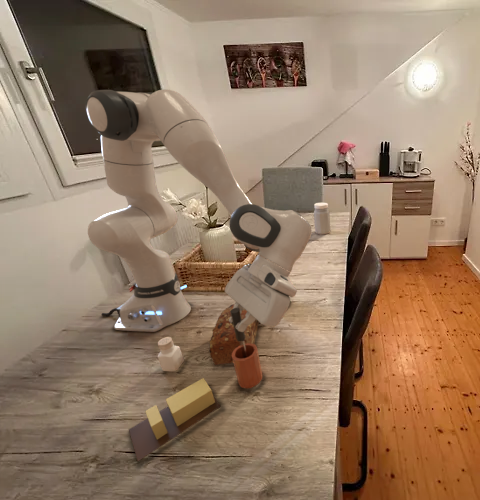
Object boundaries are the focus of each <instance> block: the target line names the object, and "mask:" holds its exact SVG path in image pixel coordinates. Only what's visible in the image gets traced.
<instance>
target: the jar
mask: <svg viewBox="0 0 480 500" xmlns="http://www.w3.org/2000/svg"><path fill="white" fill-rule="evenodd" d="M313 206H314V207H313V208H314V211H313V221H314V222H313V223H314V233H316V234H317V235H328V234H329V233H330V232H331V215H330V210H329V203H328V202H315V203H314V204H313Z"/></svg>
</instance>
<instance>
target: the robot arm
mask: <svg viewBox="0 0 480 500" xmlns="http://www.w3.org/2000/svg"><path fill="white" fill-rule="evenodd" d="M85 112H86V116H87V119H88V121H89V123H90V125H91V127H92V128H93V129H94V130H95V131H96V132H97V133H98V134H99V135H100V146H101V155H102V161H103V168H104V173H105V178H106V184H107V186H108V188H109V189H110V190H111V191H112V192H114V193H115V194H117V195H119V196H122V197H125V199H126V202H127V206H126V207H124V208H120V209H118V210H114V211H111V212H108V213H105V214H103V215H100V216H99V217H97V218H95V219H94V220H92V221H90V223H89V224H88V226H87V236H88V238H89V241H90V242H91V243H92V244H93V246H95V247H96V248H97V249H99V250H101V251H103V252H105V253H110V254H113V255H116V256H118V257H119V258H120V259H122V260H123V261H124V263H125V264H127V266H128V268H129V270H130V273H131V275H132V277H133V280H134V283H133V284H132V286H131V287H130V288H128V291H129V293H131V292H133V294H132V295H131V296H129V298H128V299H127V300H126V301H124V303H122V304H121V305H120V306H118V307H115V308H112V309H111V310H110V311H109V312H102V313H101V317H109V316H112V315H113V314H114V313H115V312H116V313H117V315H118V319H117V320H116V321H115V323H114V326H113V328H114V330H115V331H127V332H143V333H144V332H148V333H155V332H158V331H160V330H162V329H163V328H165V327H167V326H170V325H172V324H175V323H177V322H179V321H181V320H183V319H184V318H185V317H187V316H188V315H189V313H191V310H192V306H191V305H190V303H189V302H188V301H187V299H186V297H185V296H184V294H183V291H182V290H183V289H186V288H187V287H188V286H187V284H184V285H183V286H181V283H180V280H179V277H178V274H177V272H175V269H174V266H173V263H172V259H171V256H170V255H169V253H168V252H166V251H164V250H161V249H158V248H157V249H155V248H154V247H153V245H152V243H151V240H152V239H154V238H156V237H158V236H161V235H164V234H166V233H168V232H169V231H170V230H171V229H172V228H173V227H175V226H176V225H177V223H178V219H179V218H178V213H177V211H176V209H175V208H174V206H172V205H171V203H169V202H168V201H165V200H164V199H163V198H162V196H161V194H160V192H159V189H158V187H157V182H156V181H157V180H156V174H155V164H154V157H153V149H152V147H153V143H154V142H161V143H162V145H163V146H164V147H165V149H166V150H167V151H168V153H169V155H170V156H172V158H173V159H174V160H176V162H177V163H178V164H179V165H180V166H181V167H182V168H183V169H185V170H186V171H187V172H188V173H189V174H190V175H191V176H193V178H195V179H196V180H198V181H199V182H200V183H201V184H202V185H204V186H205V187H206V188H207V189H209V190H210V192H211V193H213V194H214V195H215V197H217V199H218V200H219V202H220V203H221V204H222V205H223V206H224V208H225V209H226V211H227V212H228V213H229V215H230V218H229V229H230V232H231V234H232V236H233V237H234V238H235V239H236V240H237V241H238V242H239V243H240V244H242V245H243V246H244V247H245V248H246V249H247V250H249V251H252V252H255V253H257V255H256V257H255V258H254V260H253V261H252V263H248V264H247V263H246V264H245V265H243V266H242V267H240V268H239V269H238V270H237V271H235V273H234V274H233V276H232V277H231V278H230V279H229V281H228V282H227V283H226V285H225V287H224V293H225V294H226V295H228V297H230V298H231V300H233V301H234V302H235V303H234V304H235V305H234V307H233V309H234V308H239V309H240V313H241V312H242V310H244V309H245V310H246V311H247V313H246V315H245V316H246V318H244V319H243V320H242V321H238V323H237V325H236V326H235V328H236V329H237V330H238V331H240V332H244V331H245V329H246V328H247V326H248V325H250V324H251V323H252V322H254V321H255V320H256V319H257V320H258V321H259V322H258V323H260V324H261V325H262V326H265V327H268V328H272V329H273V328H275V327H277V326H278V325H279V324H280V323H281V322H282V319H283V318H284V316H285V315H286V313H287V311H288V309H289V306H290V304H291V298H294V297H295V296H296V294H297V292H298V290H297V287H296V286H295V284H294V282H293V281H292V280H291V277H289V276H290V275H291V273H292V271H293V267H294V266H295V263H296V262H297V261H298V260H299V259H300V258H301V256H302V255H303V253H304V251H305V249H306V247H307V245H308V243H309V241H310V239H311V236H312V233H313V232H312V231H313V230H312V227H311V224H310V222H308V220H307V219H306V218H305V217H304V216H303V215H301V214H300V213H299V212H297V211H295V210H293V209H287V210H278V209H272V208H267V207H263V206H260V205H257V204H254V203H252V202H251V200H250V199H249V198H248V196H247V195H246V194H245V192H244V190H243V189H242V187H241V186H240V185H239V183H238V181H237V180H236V178H235V176H234V173H233V171H232V169H231V166H230V164H229V161H228V159H227V157H226V154H225V152H224V151H225V150H224V149H223V147H222V145H221V142H220V141H219V139H218V137H217V135H216V134H215V132H214V131H213V129H212V127H211V126H210V125H209V123H208V122H207V121H206V120H205V118H204V116H203V115H201V113H200V112H199V111H198V110H197V109H196V108H195V106H194V105H193V104H192V103H191V102H190V101H189V100H187V98H185V96H183V95H182V94H181V93H179V92H177V91H175V90H173V89H159V90H155V91H154V92H152V93H146V92H140V91H139V92H133V91H116V90H113V89H98V90H93V91H92V92H90V93H89V95H88V97H87V98H86V101H85ZM229 322H230V323H231V324H232V325H233V322H232V317H230V319H229Z"/></svg>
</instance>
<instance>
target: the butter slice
mask: <svg viewBox="0 0 480 500" xmlns="http://www.w3.org/2000/svg"><path fill="white" fill-rule="evenodd" d="M159 411H160V410H159V408H158V406H157V404H155V405H153V406H151V407H149V408H148V409H146V410H145V412H144V413H145V414H146V417H147V418H148V420H149V423H150V425H151V428H152V430H153V432H154V434H155V436H156V439H159V438H161V437H162V436H164V435H165V434H167V433H168V432H167V429H166V427H165V425H164V422H163V420H162V417H161V415H160V413H159Z"/></svg>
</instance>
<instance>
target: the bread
mask: <svg viewBox="0 0 480 500" xmlns="http://www.w3.org/2000/svg"><path fill="white" fill-rule="evenodd" d="M234 305H235V303H233V304H230V305H229V306H228V307H226V308H225V309H223V310H222V312H221V313H220V315H219V316H218V318H217V321H216V322H215V326H214V327H213V328H212V335H211V337H210V340H209V343H208V345H209V347H208V352H209V356H210V358H211V360H212V363H213V365H215V366H218V365H225V364H234V363H233V359H232V352H233V351H234V350H235V348H237V347H238V346H240V342H239V341H237V339H236V335H235V331H234V326H233V325H232V324H231V323H230V322H229V319H230V317H231V313H230V311H231V310H232V309H233V307H234ZM246 313H247V311H246V310H245V309H244V310H242V312H241V318H242V320H243V319H244V318H246V316H245V315H246ZM259 323H260V322H259V321H258V320H257V319H256V320H255V321H254V322H252V323H251V324H250V325H248V326H247V328H246V329H245V331H244V332H245V337H246V338H245V339H244V343H245V344H247V343H251V344H254V345H255V342H256V337H257V334H258V329H259Z"/></svg>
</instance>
